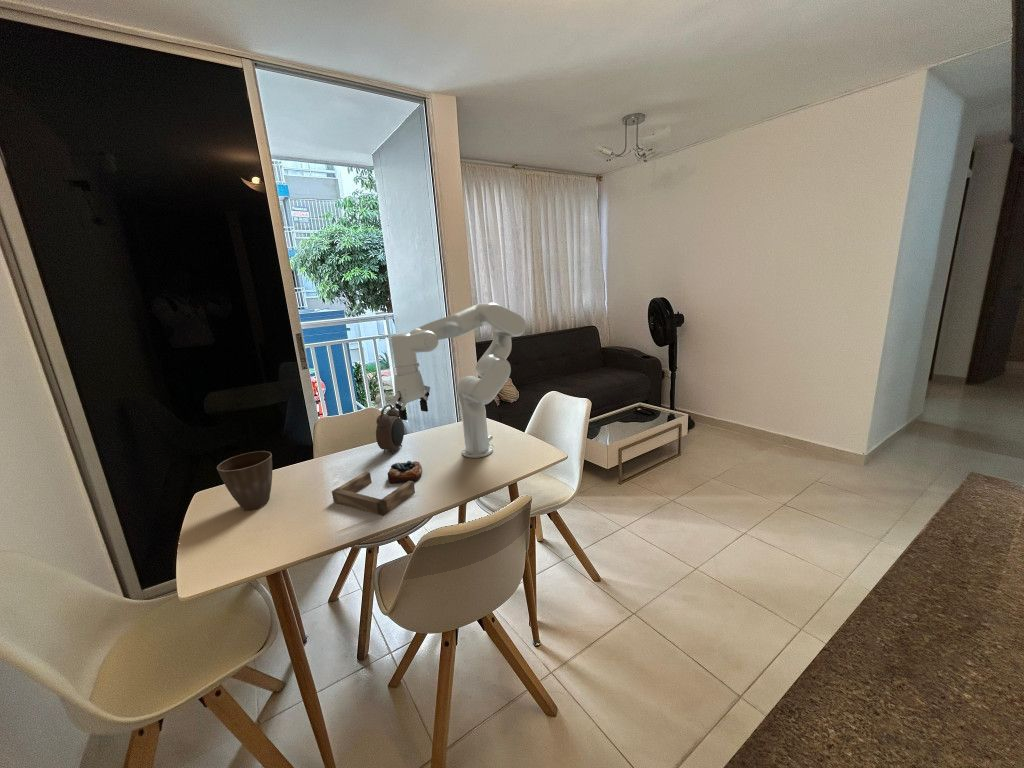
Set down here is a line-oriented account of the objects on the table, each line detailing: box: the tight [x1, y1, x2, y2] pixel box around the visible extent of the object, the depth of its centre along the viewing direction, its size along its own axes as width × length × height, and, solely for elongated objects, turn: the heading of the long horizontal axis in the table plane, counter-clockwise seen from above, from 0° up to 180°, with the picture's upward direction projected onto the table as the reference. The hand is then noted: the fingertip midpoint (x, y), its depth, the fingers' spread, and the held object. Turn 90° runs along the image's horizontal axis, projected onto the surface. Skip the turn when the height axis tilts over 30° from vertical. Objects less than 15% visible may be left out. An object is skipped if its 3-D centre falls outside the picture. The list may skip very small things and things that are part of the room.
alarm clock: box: [375, 404, 405, 455], centre depth 164 cm, size 15×7×20 cm, turn 171°
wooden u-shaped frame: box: [331, 471, 416, 516], centre depth 128 cm, size 14×22×4 cm, turn 63°
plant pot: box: [216, 450, 273, 511], centre depth 128 cm, size 15×15×16 cm
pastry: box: [387, 460, 423, 485], centre depth 141 cm, size 11×12×6 cm
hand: (414, 415), depth 140 cm, fingers open, 9 cm apart
